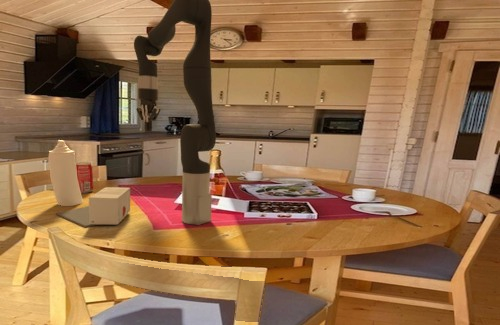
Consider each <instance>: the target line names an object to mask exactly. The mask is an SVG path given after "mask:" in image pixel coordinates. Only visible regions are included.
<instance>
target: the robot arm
mask: <svg viewBox="0 0 500 325" xmlns="http://www.w3.org/2000/svg"><path fill="white" fill-rule="evenodd" d="M181 22H183V23H185V24H188V25H192V26H194V33H195V34H194V42H193V44H192V45H191V48H190V50H189V52H188V53H187V55H186V57H185V59H184V61H183V67H182V73H183V85H184V88H185V90H186V93H187V95H188V97H189V98H190V99H191V101H192V103H193V106H194V107H195V110H196V113H197V118H198V119H197V120H198V123H197V124H195V123H194V124H193V123H191V124H190V123H189V124H185V125H184V126H183V127H182V129H181V131H180V134H179V135H180V140H179V141H180V164H181V167H182V188H181V190H182V192H181V193H182V195H181V197H182V198H181V199H182V200H181V222H182V223H184V224H188V225H197V226H200V225H204V224H206V223H208V222H209V223H210V222H212V194H211V193H210V186H211V185H210V184H211V182H210V181H211V165H210V163H209V162H207V161H204V160H202V159H201V158H200V155H199V152H201V153H202V152H211V151H212V150H213V149H214V148H215V145H216V140H217V132H216V125H215V117H214V109H213V106H214V105H213V96H212V95H213V94H212V90H213V89H212V82H213V81H212V65H211V64H212V62H211V33H212V31H211V30H212V4H211V1H210V0H173V1H172V2H171V4H170V6H169V8H168V9H167V10H166V12H165V14H164V16H163V17H162V19H161V20H160V21H159V22H158V23H157V24H156V25H155V26H154V27H152V28H151V30H150V31H149V32H148V33H147V36H146V35H142V34H139V35H137V36H136V37H135V39H134V40H133V48H134V53H135V56H136V59H137V64H138V81H137V82H138V85H137V86H138V89H137V90H138V91H137V92H138V96H137V97H138V100H139V101H140V102H139V107H137V108H136V112H137V113H138V116H139V118H140V121H143V122H144V131H145V132H152V130H153V122H155V121H157V118H158V116H159V115H160V112H161V108H159V107H158V106H157V101H158V100H159V98H158V97H159V96H158V95H159V81H158V65H157V63H156V62H155V61H152V60H150V59H149V58H148V56H150V57H157V56H160V55H161V54H162V52H163V49H164V47H165V46H166V45H168V43H169V42H171V41H172V40H173V38H174V37H175V36H176V27H177V26H176V25H177V24H179V23H181Z"/></svg>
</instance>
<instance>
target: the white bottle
mask: <svg viewBox="0 0 500 325" xmlns="http://www.w3.org/2000/svg"><path fill="white" fill-rule="evenodd" d="M65 142H66V141H65V140H62V139H61V140H60V139H58V140H57V143H56V146H55V147H54V148H53V149H52V150H48V152H49V153H48V166H49V175H50V181H51V182H50V183H51V185H52V188H53V193H54V197H55V200H56V203H57V205H58V206H60V205H61V207H72V206H78V205H81V204H83V203H84V200H83V196H82V193H81V192H80V188H79V183H78V179H77V169H76V163H77V160H76V153H75V152H76V151H75V150H73V149H70V148H69V146H68V145H67V144H66V143H65Z"/></svg>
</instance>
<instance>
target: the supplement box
mask: <svg viewBox="0 0 500 325" xmlns="http://www.w3.org/2000/svg"><path fill="white" fill-rule="evenodd" d="M88 206H89V221H90V224H98V225H119V224H120V223H121V222H122V221H123V219H124V217H125V216H126V217H127V215H128V213H129V214H130V211H131V187H113V186H111V187H109V186H107V187H106V186H105V187H103V188H102V189H101V190H99V191H97V192H96V193H94V194H92V195H91V196H89V197H88Z"/></svg>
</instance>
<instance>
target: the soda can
mask: <svg viewBox="0 0 500 325" xmlns="http://www.w3.org/2000/svg"><path fill="white" fill-rule="evenodd" d="M76 169H77V179H78V183H79V188H80V192H81V194H87V193H88V194H89V193H92V191H93V190H94V179H93V178H94V175H93V172H94V171H93V170H94V169H93V165H92V163H91V162H88V161H87V162H76Z"/></svg>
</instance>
